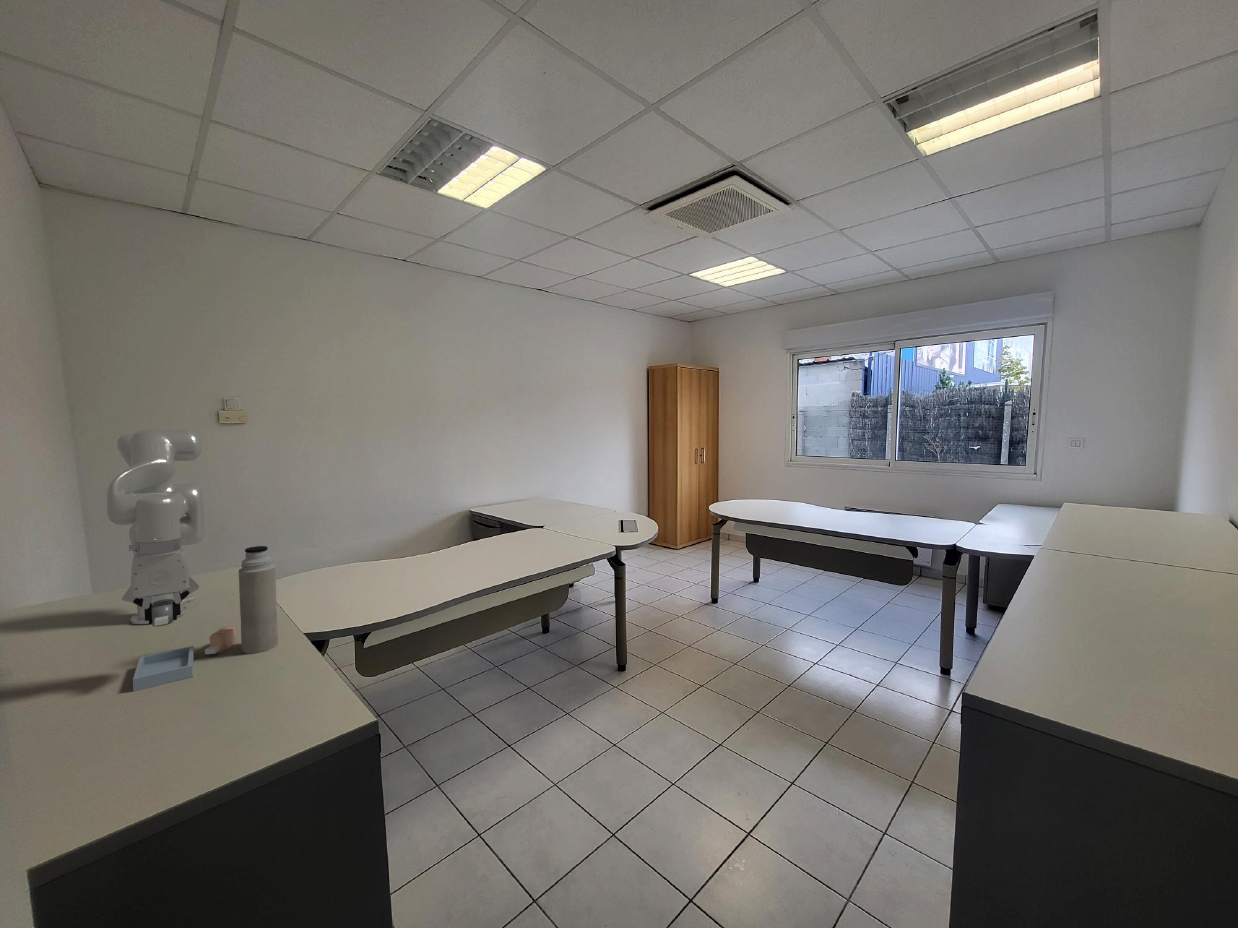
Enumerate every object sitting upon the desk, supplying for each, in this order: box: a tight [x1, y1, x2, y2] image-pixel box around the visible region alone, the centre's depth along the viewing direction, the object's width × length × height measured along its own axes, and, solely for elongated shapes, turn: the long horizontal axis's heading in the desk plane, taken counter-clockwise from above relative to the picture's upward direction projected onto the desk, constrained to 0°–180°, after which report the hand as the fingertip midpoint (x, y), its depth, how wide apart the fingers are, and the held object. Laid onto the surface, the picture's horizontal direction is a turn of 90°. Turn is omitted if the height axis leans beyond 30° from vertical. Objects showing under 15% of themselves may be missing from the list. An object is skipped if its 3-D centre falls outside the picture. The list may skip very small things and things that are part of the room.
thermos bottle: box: [238, 545, 279, 655], centre depth 130 cm, size 8×8×28 cm
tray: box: [132, 645, 195, 692], centre depth 116 cm, size 14×10×3 cm
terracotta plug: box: [204, 626, 236, 655], centre depth 129 cm, size 10×4×4 cm, turn 15°
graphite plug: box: [151, 599, 174, 628], centre depth 114 cm, size 10×4×4 cm, turn 41°
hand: (163, 619), depth 116 cm, fingers closed on graphite plug, 3 cm apart
